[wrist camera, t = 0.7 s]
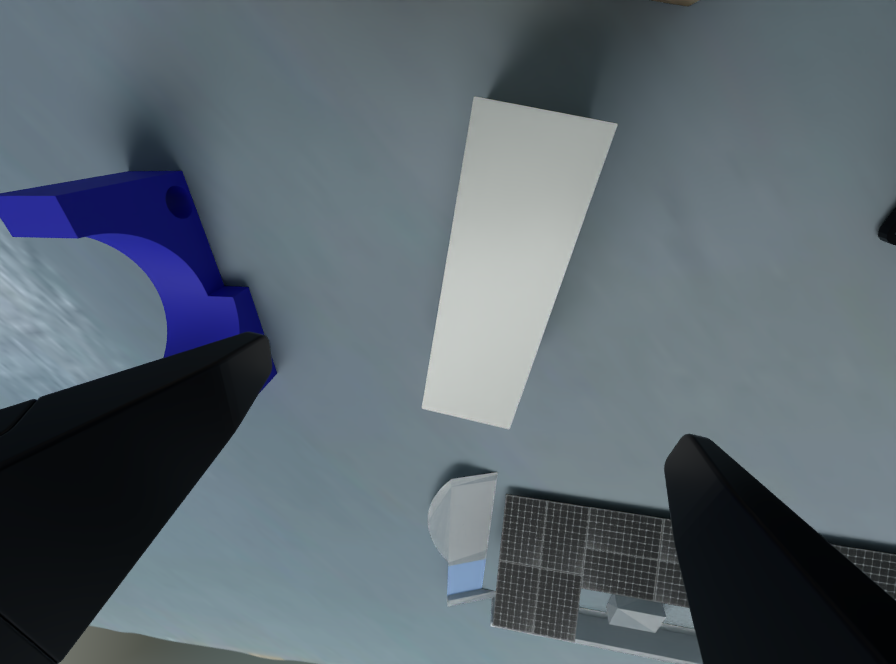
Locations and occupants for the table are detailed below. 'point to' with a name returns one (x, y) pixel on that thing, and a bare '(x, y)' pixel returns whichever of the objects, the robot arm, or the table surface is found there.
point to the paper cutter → (579, 569)
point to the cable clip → (144, 246)
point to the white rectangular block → (509, 252)
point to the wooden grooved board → (678, 2)
